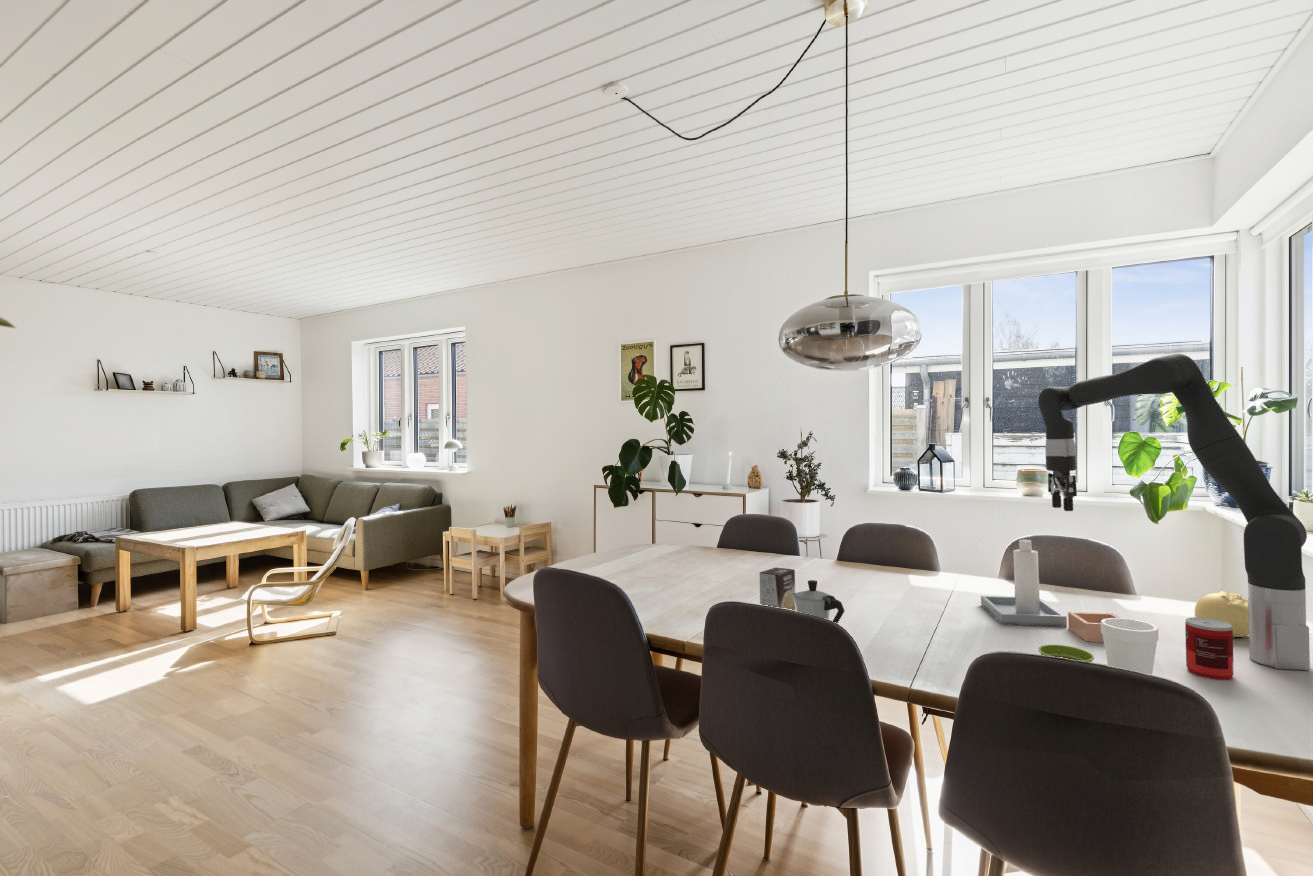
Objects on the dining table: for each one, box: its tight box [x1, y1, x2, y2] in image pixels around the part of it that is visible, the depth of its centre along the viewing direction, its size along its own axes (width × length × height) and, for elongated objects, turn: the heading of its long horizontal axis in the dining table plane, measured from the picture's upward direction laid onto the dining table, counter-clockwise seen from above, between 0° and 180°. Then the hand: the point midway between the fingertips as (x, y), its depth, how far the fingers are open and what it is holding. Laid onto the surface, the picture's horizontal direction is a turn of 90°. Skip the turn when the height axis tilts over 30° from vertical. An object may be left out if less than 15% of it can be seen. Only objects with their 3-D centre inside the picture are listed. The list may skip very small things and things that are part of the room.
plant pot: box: [1037, 644, 1095, 663], centre depth 127 cm, size 9×9×9 cm
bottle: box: [1012, 539, 1041, 615], centre depth 180 cm, size 6×6×21 cm
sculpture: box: [1194, 590, 1249, 638], centre depth 161 cm, size 12×12×11 cm
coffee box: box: [759, 567, 796, 611], centre depth 175 cm, size 9×6×16 cm
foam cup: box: [1101, 617, 1159, 676], centre depth 130 cm, size 10×9×13 cm
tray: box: [980, 595, 1068, 628], centre depth 182 cm, size 20×16×3 cm
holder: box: [1067, 611, 1121, 643], centre depth 162 cm, size 10×10×4 cm
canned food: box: [1184, 616, 1234, 681], centre depth 136 cm, size 8×8×11 cm
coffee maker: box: [792, 579, 845, 624], centre depth 153 cm, size 15×9×18 cm, turn 40°
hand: (1062, 509), depth 186 cm, fingers open, 8 cm apart
